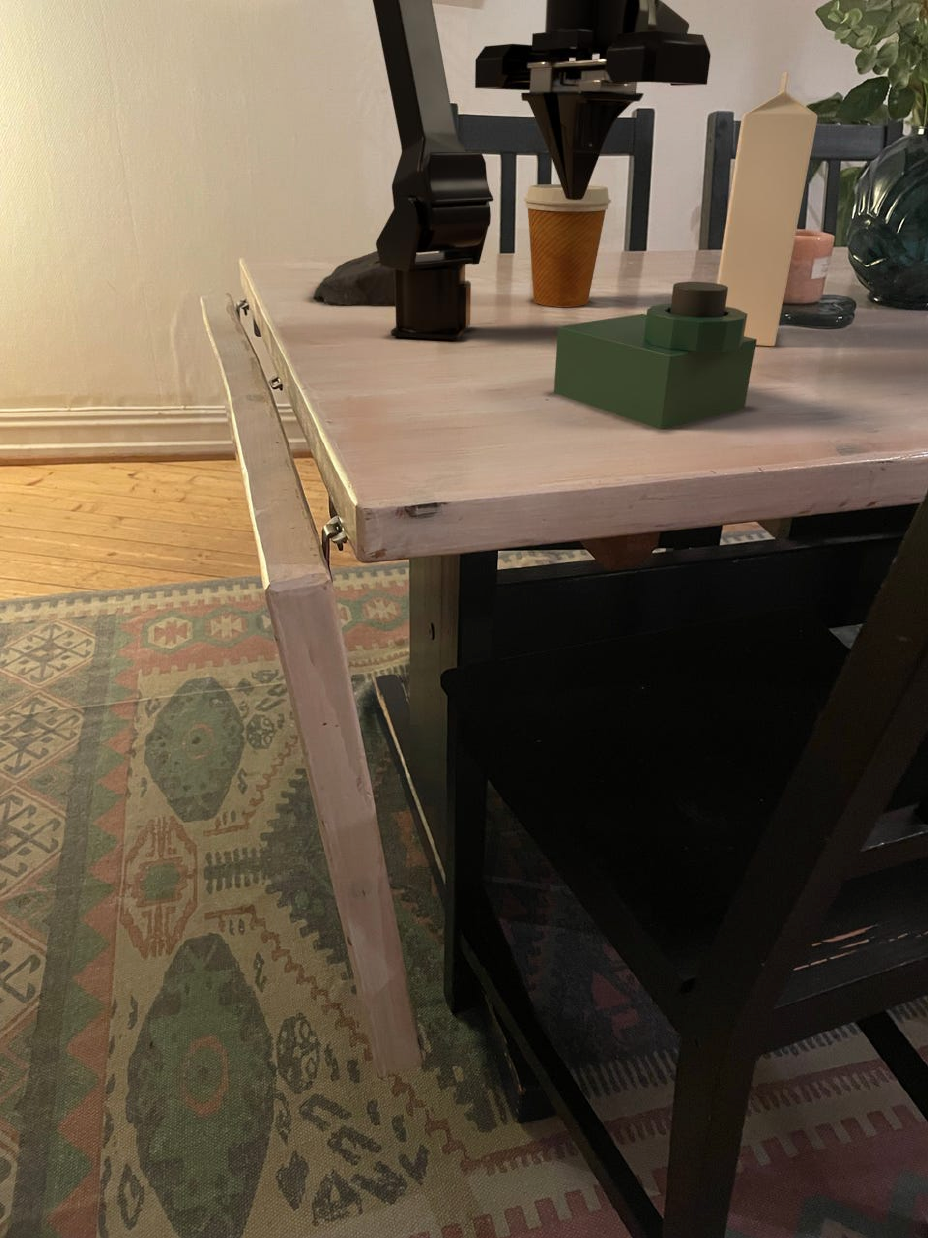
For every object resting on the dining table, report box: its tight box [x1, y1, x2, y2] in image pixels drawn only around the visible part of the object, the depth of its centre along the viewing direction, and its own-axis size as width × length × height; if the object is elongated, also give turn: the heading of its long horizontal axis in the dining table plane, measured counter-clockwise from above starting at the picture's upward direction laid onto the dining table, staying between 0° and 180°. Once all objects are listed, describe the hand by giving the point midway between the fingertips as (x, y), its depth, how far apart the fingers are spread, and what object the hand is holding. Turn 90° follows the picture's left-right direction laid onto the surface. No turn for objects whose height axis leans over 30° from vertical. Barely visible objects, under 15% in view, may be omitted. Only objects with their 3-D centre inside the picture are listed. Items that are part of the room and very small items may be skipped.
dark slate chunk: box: [312, 250, 419, 306], centre depth 105 cm, size 15×22×5 cm
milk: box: [716, 69, 818, 347], centre depth 79 cm, size 6×6×22 cm
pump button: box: [670, 281, 728, 318], centre depth 58 cm, size 4×4×2 cm
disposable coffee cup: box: [523, 183, 612, 308], centre depth 97 cm, size 10×10×12 cm
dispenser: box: [553, 302, 757, 431], centre depth 62 cm, size 12×9×7 cm
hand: (574, 199), depth 66 cm, fingers closed
